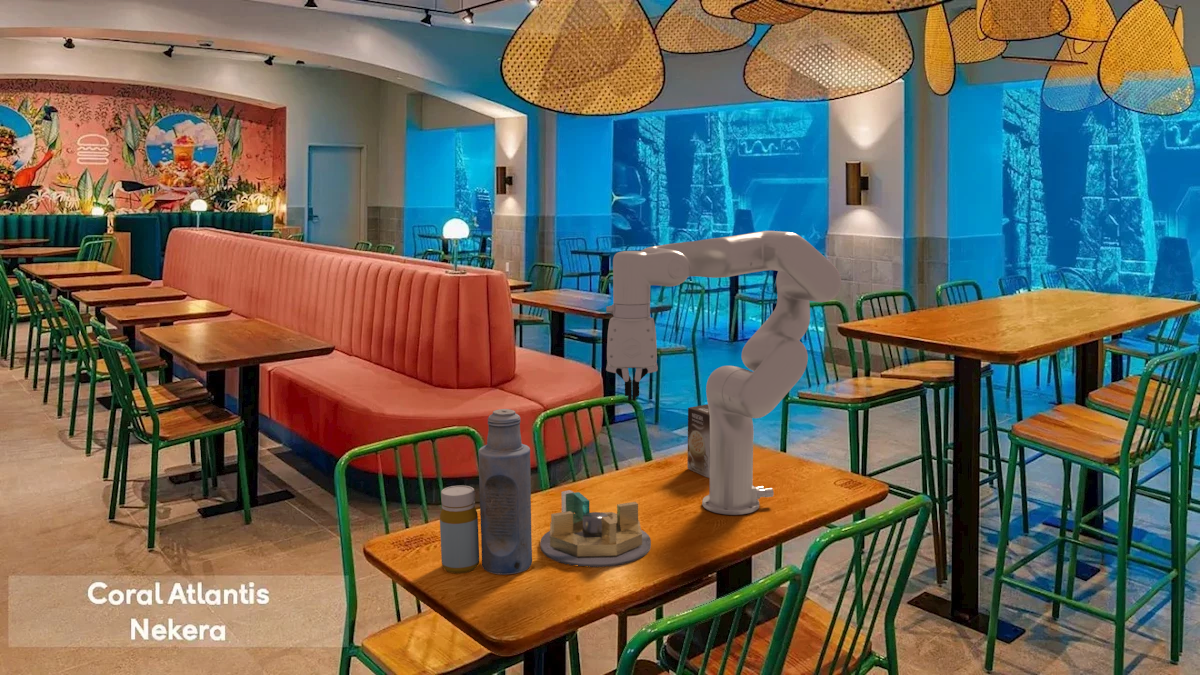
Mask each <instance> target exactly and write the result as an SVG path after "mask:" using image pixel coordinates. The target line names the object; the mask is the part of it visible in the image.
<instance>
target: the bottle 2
mask: <svg viewBox="0 0 1200 675" xmlns="http://www.w3.org/2000/svg"><path fill="white" fill-rule="evenodd" d="M487 426H488V432H487V437H486V438H487V440H486V444H485V445H483V446H481V447H480V448H479V449H478V477H479V478H478V480H479V481H478V482H479V484H478V485H479V510H480V512H479V514H480V536H481V537H480V539H481V540H480V542H481V544H480V545H481V546H480V547H481V567H482V569H484V571H486V572H488V573H491V574H496V575H513V574H518V573H521V572H524V571H527V570H528V569H529V568H530V567H531V566H532V565H533V564H532V563H533V549H532V548H533V547H532V546H533V545H532V542H533V541H532V539H533V538H532V501H531V500H532V498H531V497H532V493H531V492H532V491H531V490H532V489H531V488H532V485H531V483H532V482H531V481H532V479H531V448H530V446H528V445H527V444H523V442H522V435H521V416H520V415H519V414H518V413H516V411H515V410H513V409H510V408H500V409H496V410H493V411H492V413H491V414H490V415H489V416H488V417H487Z"/></svg>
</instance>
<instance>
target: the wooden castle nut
mask: <svg viewBox="0 0 1200 675" xmlns="http://www.w3.org/2000/svg"><path fill="white" fill-rule="evenodd" d="M587 513H591V512H590V500H589V499H588V498H587V497H586V496H584V494H582V493H581V492H579V491H576V492H574V514H573V513H572V512H571V511H568V512H562V511H561V512H556V513H555V512H554V513H551V514H550V515H551V518H550V519H551V522H550V528H549V531H550V547H553V548H555V549H558V550H561V551H564V552H567V553H569V554H572V555H575V556H617V555H619V554H622V553H624V552H626V551H628V550H631V549H633V548H635V547H638V546H640V545H642V531H641V530H642V527H641V523H640V520H639V503H638V502H636V501H630V502H625V503H624V502H623V503H619V504H617V505H616V512H612V511H611V512H610V511H608V512H606V511H605V512H604V511H603V512H601V511H600V513H604V514H607V515H608V516H607V517H602V537H583V536H580V535H577V534H575V533H578V532H580V531H583V515H585V514H587Z"/></svg>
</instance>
